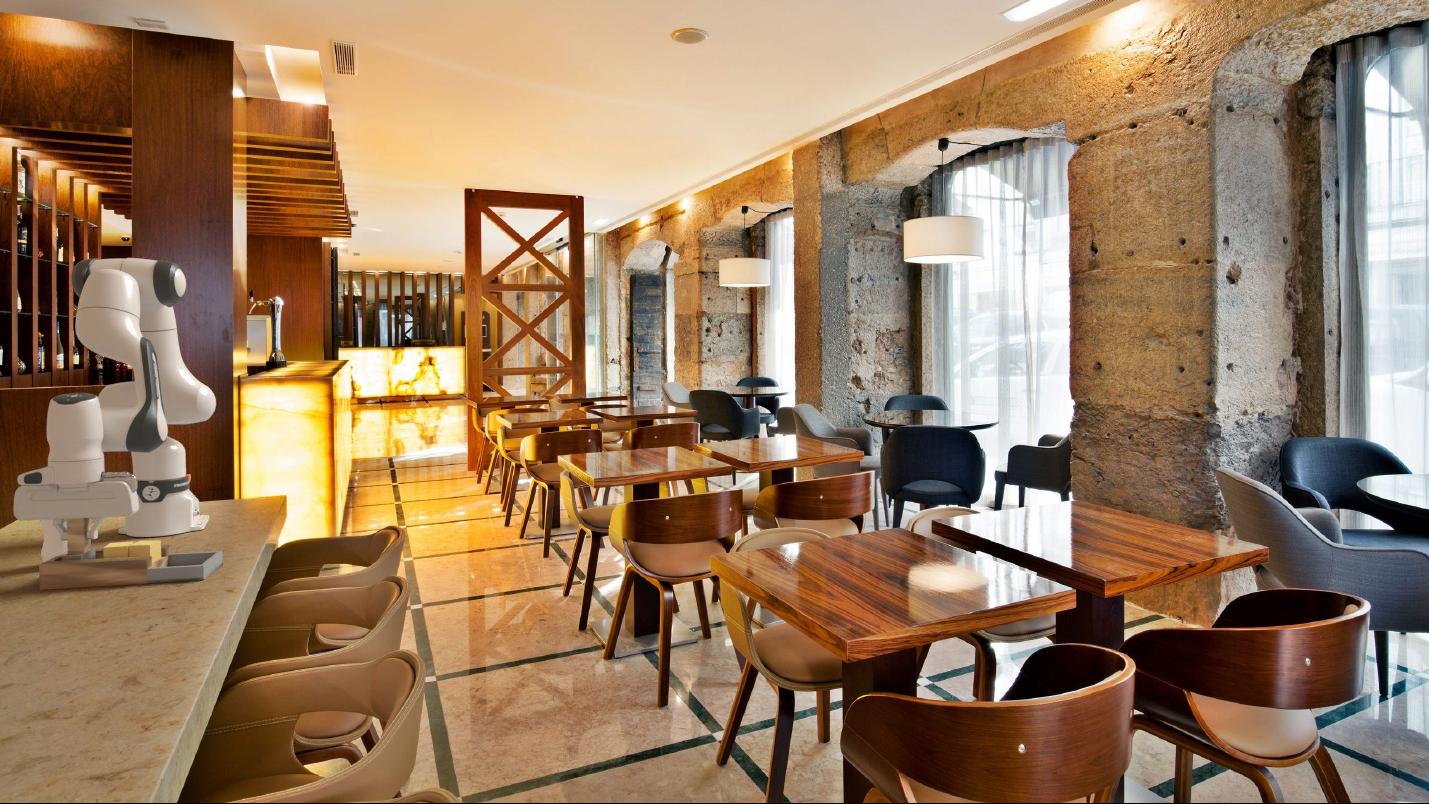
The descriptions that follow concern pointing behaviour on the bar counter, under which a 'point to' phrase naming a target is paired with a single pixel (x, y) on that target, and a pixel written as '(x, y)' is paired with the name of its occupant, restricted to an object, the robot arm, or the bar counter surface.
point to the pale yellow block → (117, 550)
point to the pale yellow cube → (146, 549)
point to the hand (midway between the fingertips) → (79, 539)
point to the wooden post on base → (78, 540)
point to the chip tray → (186, 567)
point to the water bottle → (52, 541)
